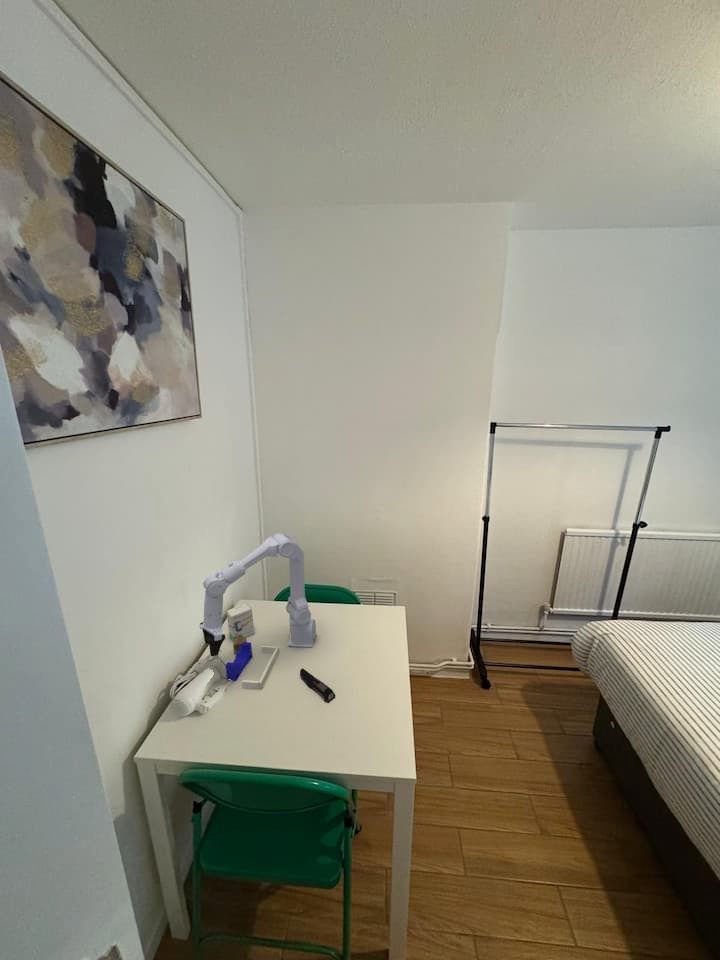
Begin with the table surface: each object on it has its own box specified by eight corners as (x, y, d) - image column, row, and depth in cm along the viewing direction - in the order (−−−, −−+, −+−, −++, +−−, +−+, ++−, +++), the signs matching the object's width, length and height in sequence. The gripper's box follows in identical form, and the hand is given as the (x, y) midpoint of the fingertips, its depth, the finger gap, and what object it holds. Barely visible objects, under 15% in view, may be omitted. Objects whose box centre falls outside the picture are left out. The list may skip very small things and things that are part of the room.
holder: (279, 652, 138) (278, 646, 137) (261, 689, 121) (260, 683, 121) (262, 651, 139) (261, 645, 138) (242, 688, 122) (241, 681, 121)
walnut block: (247, 645, 142) (246, 636, 141) (245, 652, 138) (244, 643, 137) (236, 647, 142) (235, 637, 141) (234, 654, 138) (233, 644, 137)
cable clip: (241, 655, 137) (239, 641, 136) (252, 656, 136) (251, 642, 135) (223, 679, 126) (221, 664, 124) (235, 681, 125) (233, 666, 123)
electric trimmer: (306, 672, 128) (306, 665, 127) (336, 697, 117) (335, 689, 117) (297, 679, 126) (296, 670, 125) (327, 704, 115) (326, 696, 114)
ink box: (250, 628, 153) (247, 602, 150) (255, 634, 149) (252, 607, 146) (229, 637, 148) (225, 610, 145) (234, 643, 144) (230, 616, 141)
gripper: (195, 603, 127) (193, 640, 129) (205, 624, 115) (203, 664, 117) (217, 599, 131) (215, 635, 133) (229, 619, 119) (226, 658, 121)
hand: (211, 648), depth 125 cm, fingers open, 7 cm apart
